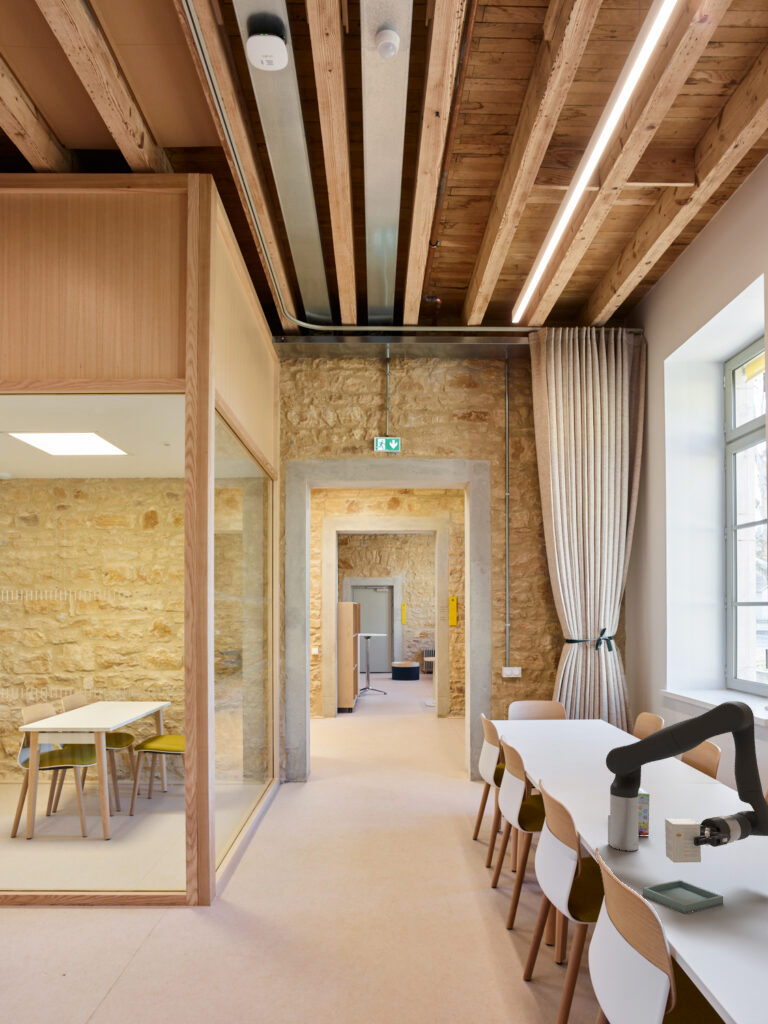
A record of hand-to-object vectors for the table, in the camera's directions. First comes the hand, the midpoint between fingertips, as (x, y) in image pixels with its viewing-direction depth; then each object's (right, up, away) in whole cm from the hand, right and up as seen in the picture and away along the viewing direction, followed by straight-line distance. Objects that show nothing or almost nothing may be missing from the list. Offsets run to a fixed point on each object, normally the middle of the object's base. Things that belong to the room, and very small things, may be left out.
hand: (682, 837), depth 225 cm
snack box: (+8, -25, +69) cm, 74 cm away
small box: (0, -6, 0) cm, 6 cm away
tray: (0, -17, -1) cm, 17 cm away
